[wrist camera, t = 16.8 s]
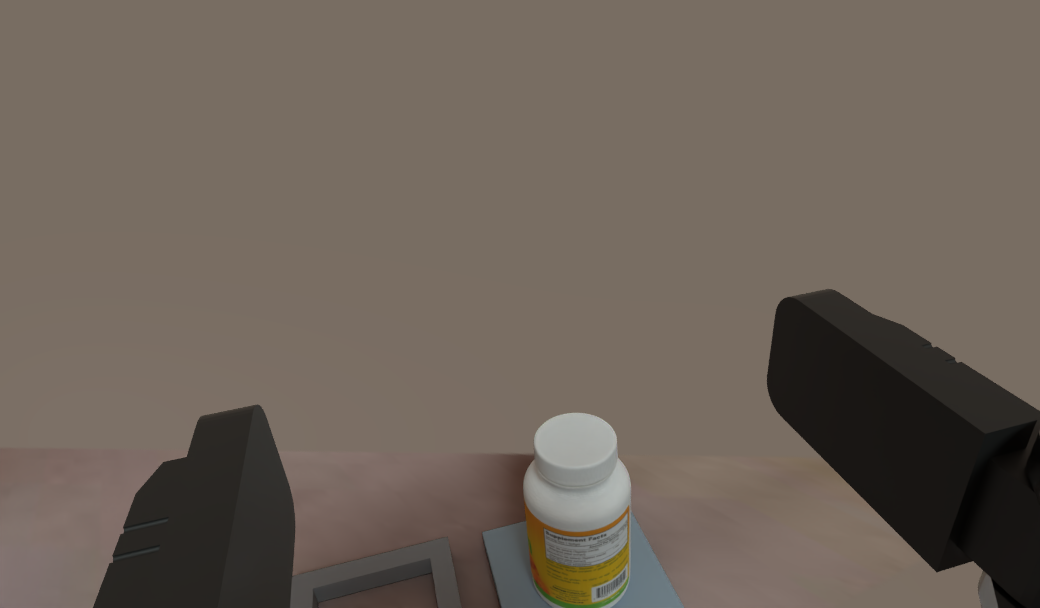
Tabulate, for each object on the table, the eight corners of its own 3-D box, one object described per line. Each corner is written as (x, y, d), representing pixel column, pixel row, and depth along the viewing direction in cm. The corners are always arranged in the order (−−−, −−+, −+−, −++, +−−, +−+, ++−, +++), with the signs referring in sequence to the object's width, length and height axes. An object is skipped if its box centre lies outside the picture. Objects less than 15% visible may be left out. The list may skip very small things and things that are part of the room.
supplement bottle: (543, 529, 38) (532, 398, 34) (635, 543, 37) (637, 408, 32) (521, 609, 34) (505, 470, 29) (624, 628, 32) (625, 485, 28)
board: (520, 684, 31) (519, 674, 31) (483, 541, 39) (482, 532, 38) (691, 632, 33) (692, 622, 32) (622, 505, 40) (622, 495, 40)
